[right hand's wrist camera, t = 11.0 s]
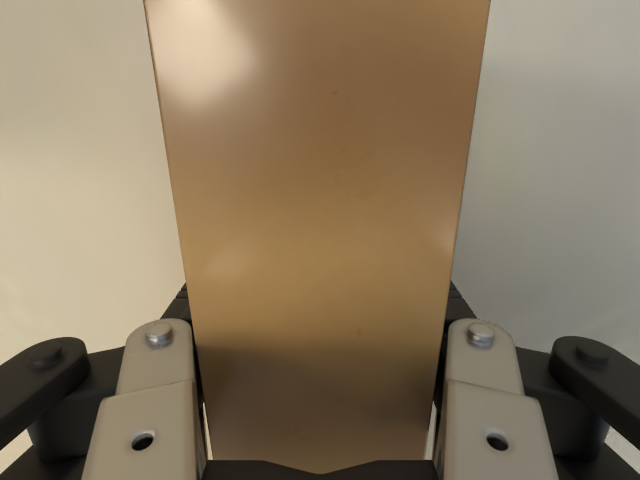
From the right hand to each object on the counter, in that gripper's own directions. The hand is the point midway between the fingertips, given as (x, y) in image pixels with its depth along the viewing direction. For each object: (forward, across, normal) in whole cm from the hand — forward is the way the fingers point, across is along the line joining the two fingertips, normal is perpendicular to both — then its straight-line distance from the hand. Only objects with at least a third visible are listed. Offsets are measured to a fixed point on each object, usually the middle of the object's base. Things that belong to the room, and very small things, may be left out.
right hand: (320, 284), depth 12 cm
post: (+3, 0, -27) cm, 27 cm away
